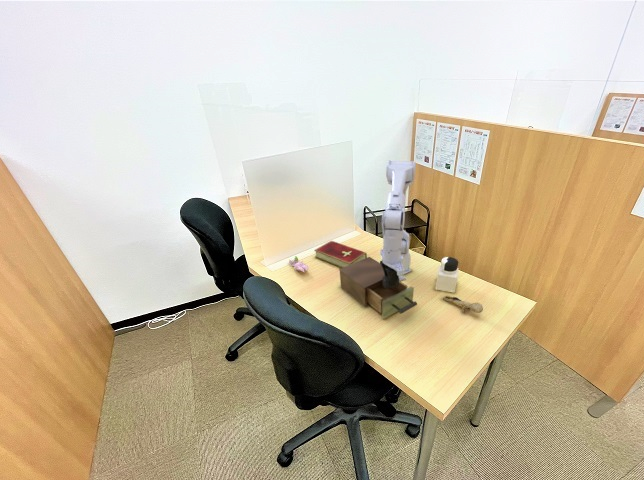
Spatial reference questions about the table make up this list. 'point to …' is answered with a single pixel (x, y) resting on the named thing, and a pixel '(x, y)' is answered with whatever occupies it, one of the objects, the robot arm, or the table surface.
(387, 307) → the drawer
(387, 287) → the black block with tip
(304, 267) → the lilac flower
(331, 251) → the hardcover book
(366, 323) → the table surface
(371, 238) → the table surface
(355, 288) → the cabinet
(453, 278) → the ball on square pedestal
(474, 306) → the figurine
